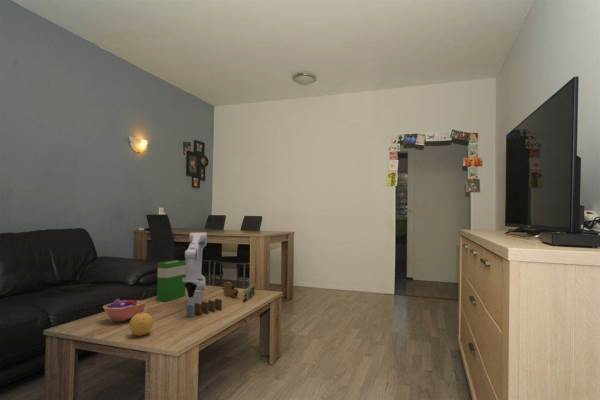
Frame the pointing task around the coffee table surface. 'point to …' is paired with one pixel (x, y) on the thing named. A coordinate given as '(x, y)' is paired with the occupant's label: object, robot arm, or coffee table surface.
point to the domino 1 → (190, 310)
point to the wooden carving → (229, 289)
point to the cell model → (124, 309)
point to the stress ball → (141, 324)
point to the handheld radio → (248, 293)
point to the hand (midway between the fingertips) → (190, 296)
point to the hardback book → (171, 280)
